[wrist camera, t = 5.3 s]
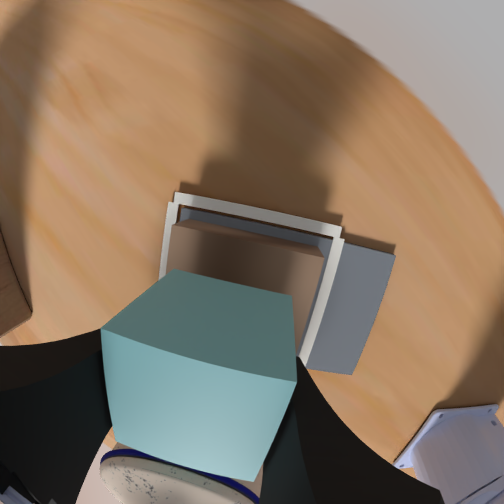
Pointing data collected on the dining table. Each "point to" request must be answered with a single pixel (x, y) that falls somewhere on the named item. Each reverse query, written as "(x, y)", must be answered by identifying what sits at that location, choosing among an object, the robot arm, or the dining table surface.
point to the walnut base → (249, 262)
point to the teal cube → (201, 372)
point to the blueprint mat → (329, 285)
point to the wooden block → (10, 296)
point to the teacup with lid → (170, 481)
